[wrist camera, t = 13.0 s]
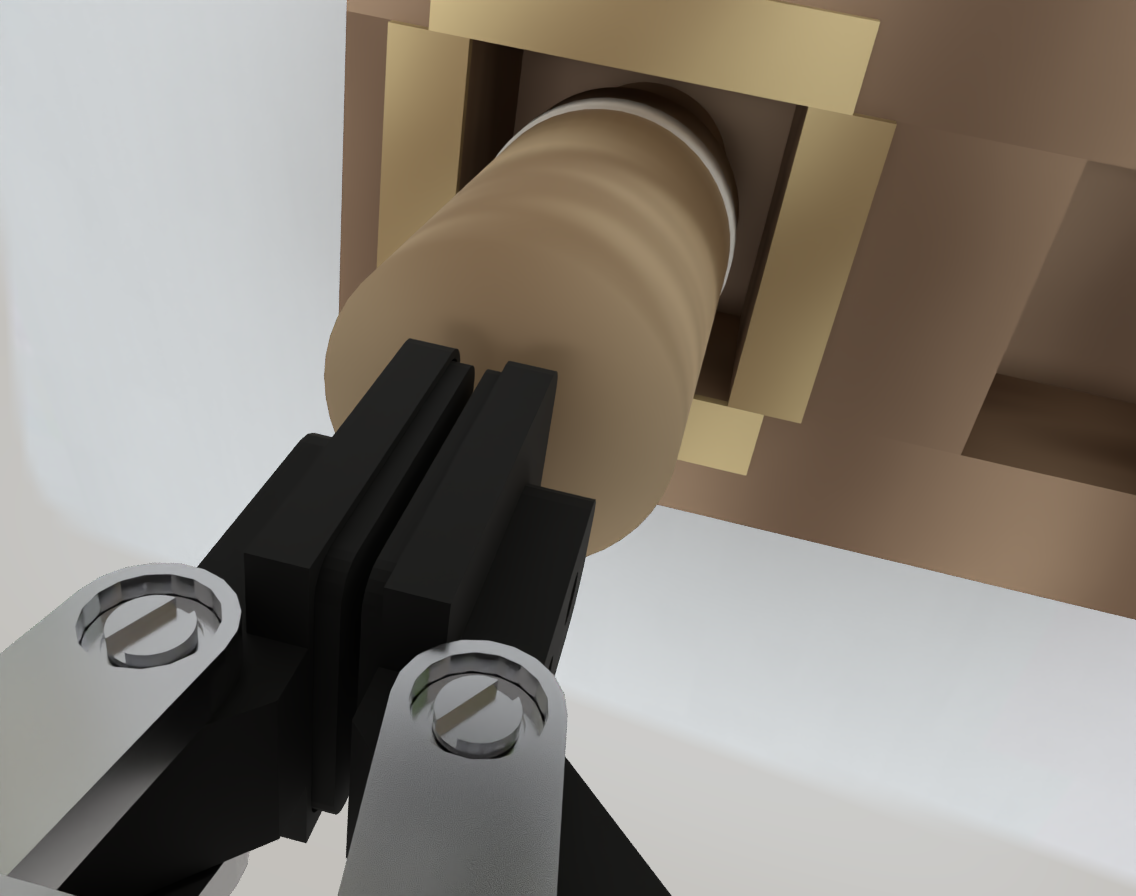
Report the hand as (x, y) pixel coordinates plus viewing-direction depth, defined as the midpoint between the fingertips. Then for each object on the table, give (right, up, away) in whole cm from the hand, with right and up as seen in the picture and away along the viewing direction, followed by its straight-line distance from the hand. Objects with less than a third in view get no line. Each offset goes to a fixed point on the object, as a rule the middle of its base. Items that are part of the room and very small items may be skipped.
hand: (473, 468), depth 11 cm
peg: (+3, +6, +10) cm, 12 cm away
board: (+8, +6, +10) cm, 14 cm away
